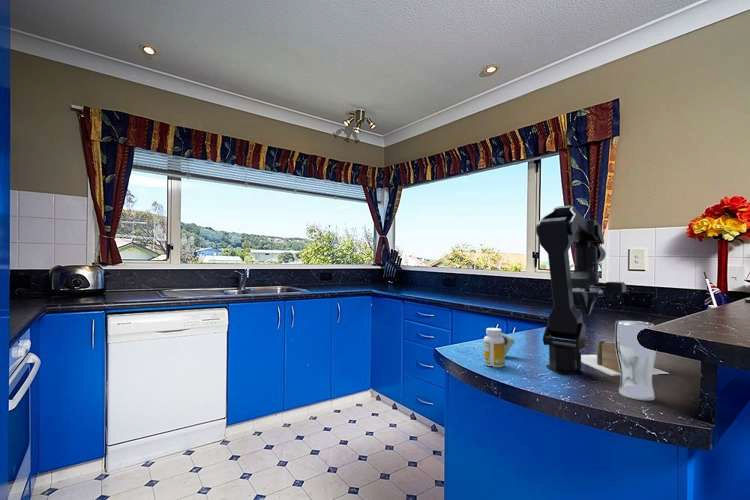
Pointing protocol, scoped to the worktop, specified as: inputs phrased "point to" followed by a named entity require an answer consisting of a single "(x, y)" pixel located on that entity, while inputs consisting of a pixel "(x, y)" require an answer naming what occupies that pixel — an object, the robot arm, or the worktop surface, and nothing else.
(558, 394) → the worktop surface
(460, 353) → the worktop surface
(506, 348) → the pig figurine
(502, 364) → the supplement bottle
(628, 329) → the beer glass
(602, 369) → the card
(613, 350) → the fixed fence
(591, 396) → the worktop surface
